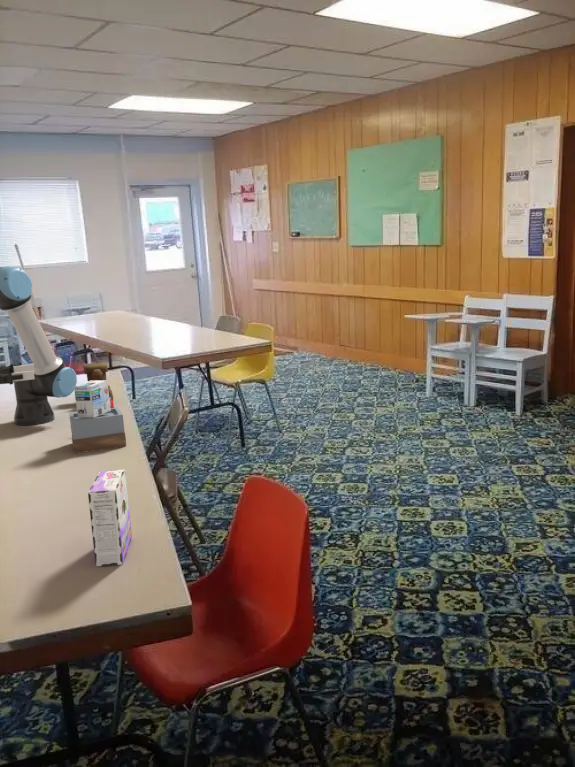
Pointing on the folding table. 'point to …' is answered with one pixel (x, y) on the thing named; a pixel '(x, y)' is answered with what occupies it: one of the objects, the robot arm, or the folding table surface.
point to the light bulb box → (92, 398)
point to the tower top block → (97, 424)
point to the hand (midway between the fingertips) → (34, 371)
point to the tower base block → (99, 442)
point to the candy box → (110, 517)
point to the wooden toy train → (97, 373)
